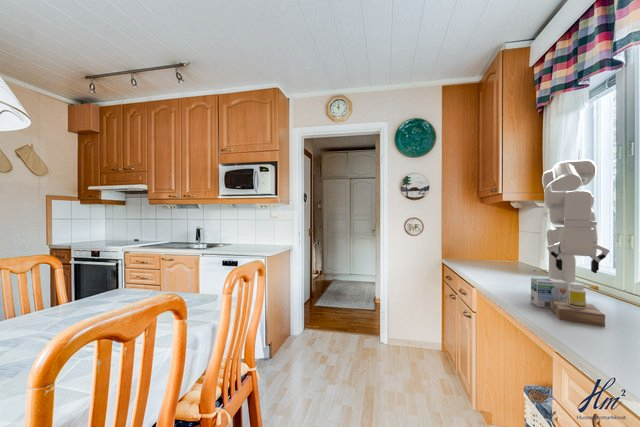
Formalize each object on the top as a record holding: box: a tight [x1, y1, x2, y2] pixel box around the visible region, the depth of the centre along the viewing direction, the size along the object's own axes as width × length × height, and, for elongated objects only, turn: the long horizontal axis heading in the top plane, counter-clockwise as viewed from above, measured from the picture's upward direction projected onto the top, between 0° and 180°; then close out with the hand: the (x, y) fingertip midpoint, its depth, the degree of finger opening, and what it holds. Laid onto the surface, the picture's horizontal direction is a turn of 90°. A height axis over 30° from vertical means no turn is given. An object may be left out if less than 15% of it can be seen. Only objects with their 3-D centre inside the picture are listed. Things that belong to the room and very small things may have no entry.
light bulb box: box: [530, 276, 568, 309], centre depth 119 cm, size 11×7×11 cm, turn 74°
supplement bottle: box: [567, 282, 587, 308], centre depth 105 cm, size 5×5×8 cm
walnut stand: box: [551, 300, 606, 327], centre depth 105 cm, size 12×12×4 cm
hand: (576, 270), depth 105 cm, fingers open, 9 cm apart
